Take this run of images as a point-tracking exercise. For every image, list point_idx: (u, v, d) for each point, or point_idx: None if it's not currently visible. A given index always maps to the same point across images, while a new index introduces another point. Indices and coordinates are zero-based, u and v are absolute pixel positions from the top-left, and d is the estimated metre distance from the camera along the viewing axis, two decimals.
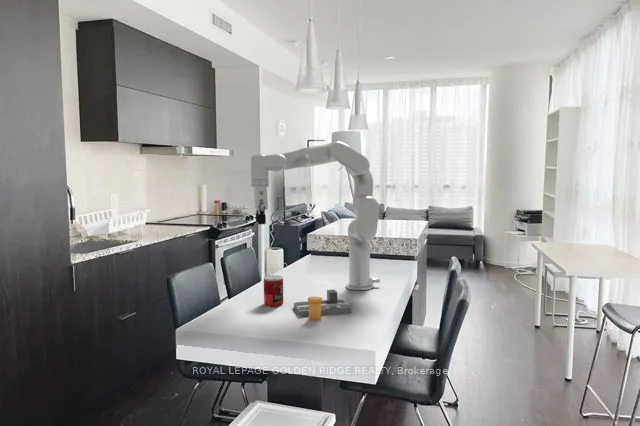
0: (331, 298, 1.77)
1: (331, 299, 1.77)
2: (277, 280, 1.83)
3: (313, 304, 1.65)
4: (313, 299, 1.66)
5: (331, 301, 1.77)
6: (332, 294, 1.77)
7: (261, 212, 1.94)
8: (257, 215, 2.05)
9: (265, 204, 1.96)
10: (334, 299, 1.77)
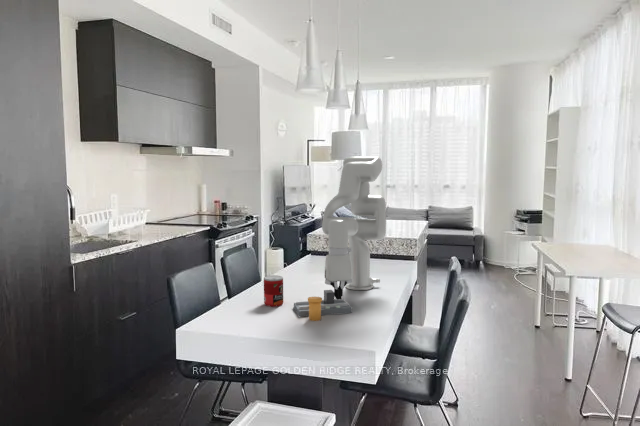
0: (328, 298, 1.76)
1: (328, 299, 1.76)
2: (277, 280, 1.83)
3: (313, 304, 1.65)
4: (313, 299, 1.66)
5: (328, 301, 1.76)
6: (329, 294, 1.76)
7: None
8: None
9: None
10: (331, 299, 1.77)
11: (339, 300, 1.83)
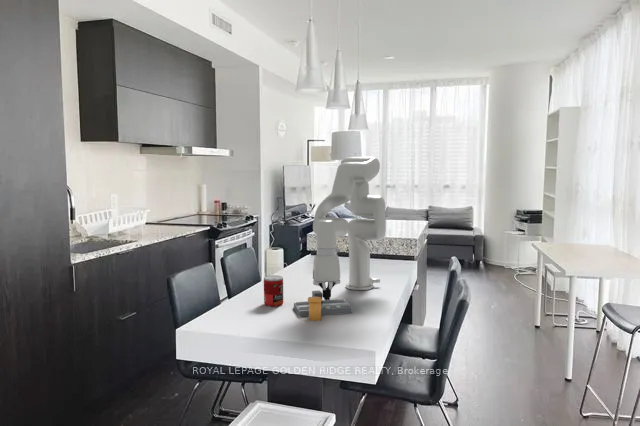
0: None
1: None
2: (277, 280, 1.83)
3: (313, 304, 1.65)
4: (313, 299, 1.66)
5: None
6: (317, 295, 1.75)
7: None
8: None
9: None
10: None
11: (339, 300, 1.83)
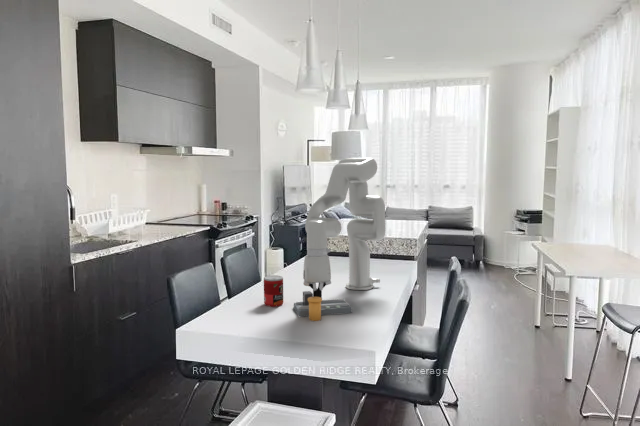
0: (306, 300, 1.74)
1: (306, 301, 1.74)
2: (277, 280, 1.83)
3: (313, 304, 1.65)
4: (313, 299, 1.66)
5: (307, 302, 1.75)
6: (307, 296, 1.74)
7: None
8: None
9: None
10: None
11: (339, 300, 1.83)
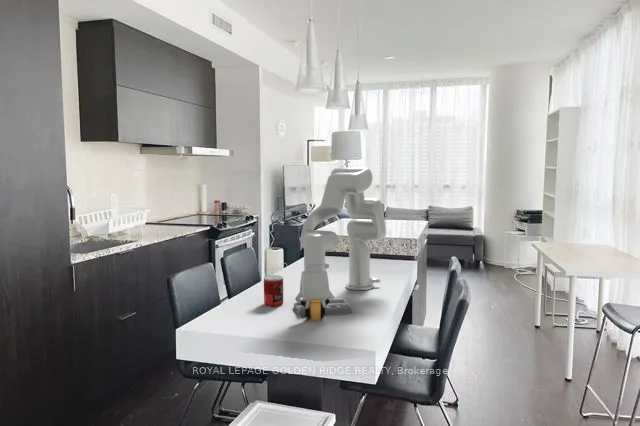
0: None
1: None
2: (277, 280, 1.83)
3: (313, 304, 1.65)
4: None
5: None
6: None
7: None
8: (309, 311, 1.66)
9: None
10: None
11: (339, 300, 1.83)
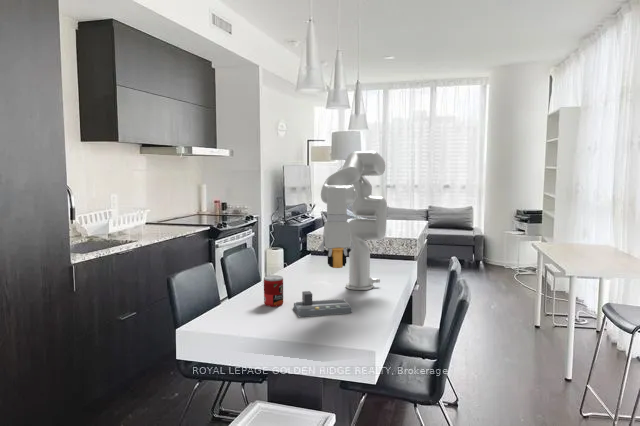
0: (306, 300, 1.74)
1: (306, 301, 1.74)
2: (277, 280, 1.83)
3: (336, 252, 1.76)
4: (335, 248, 1.76)
5: (306, 302, 1.75)
6: (307, 296, 1.74)
7: None
8: None
9: None
10: (309, 300, 1.75)
11: (339, 300, 1.83)
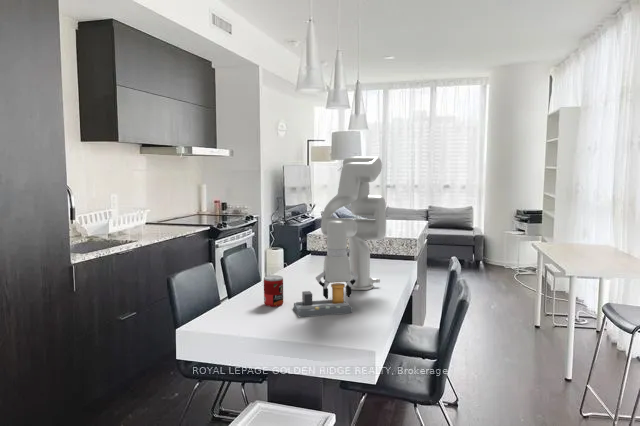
0: (306, 300, 1.74)
1: (306, 301, 1.74)
2: (277, 280, 1.83)
3: (337, 289, 1.77)
4: (336, 285, 1.78)
5: (306, 302, 1.75)
6: (307, 296, 1.74)
7: None
8: (327, 291, 1.77)
9: None
10: (309, 300, 1.75)
11: None
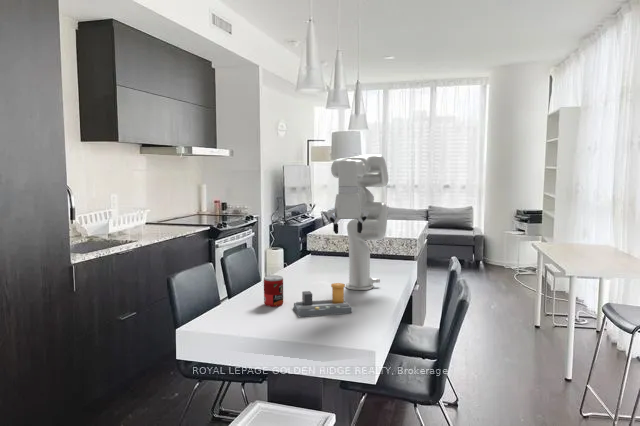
0: (306, 300, 1.74)
1: (306, 301, 1.74)
2: (277, 280, 1.83)
3: (337, 289, 1.77)
4: (336, 285, 1.78)
5: (306, 302, 1.75)
6: (307, 296, 1.74)
7: None
8: (337, 226, 1.86)
9: None
10: (309, 300, 1.75)
11: None
